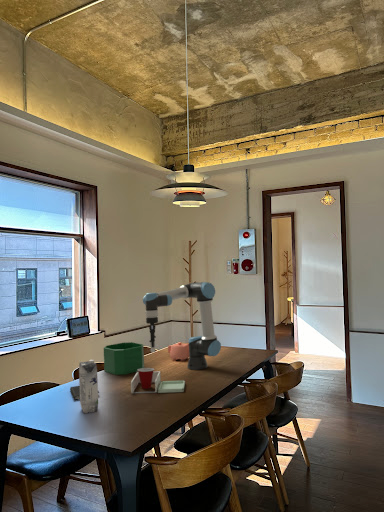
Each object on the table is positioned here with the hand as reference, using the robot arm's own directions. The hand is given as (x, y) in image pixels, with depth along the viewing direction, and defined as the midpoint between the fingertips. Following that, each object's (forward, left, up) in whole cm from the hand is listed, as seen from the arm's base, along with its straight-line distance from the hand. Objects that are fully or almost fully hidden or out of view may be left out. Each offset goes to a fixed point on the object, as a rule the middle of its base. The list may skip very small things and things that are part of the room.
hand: (153, 350), depth 254 cm
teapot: (-76, +13, -24) cm, 80 cm away
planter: (-50, -29, -24) cm, 62 cm away
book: (+7, -43, -25) cm, 50 cm away
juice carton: (+37, -31, -24) cm, 54 cm away
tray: (+2, +11, -24) cm, 26 cm away
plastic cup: (-1, -5, -24) cm, 25 cm away
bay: (-1, -5, -24) cm, 24 cm away
